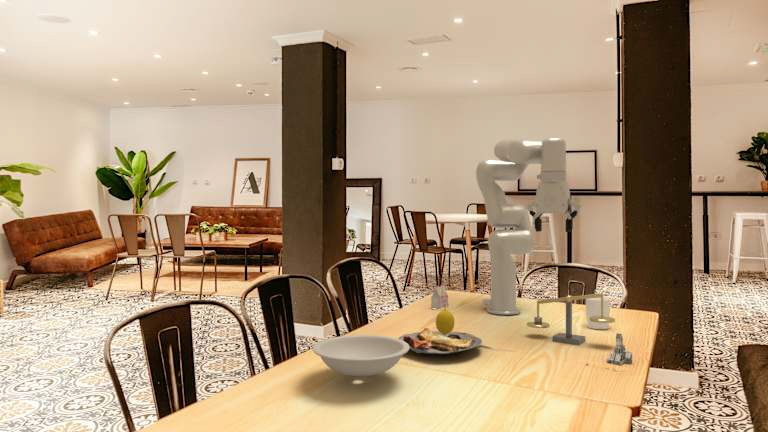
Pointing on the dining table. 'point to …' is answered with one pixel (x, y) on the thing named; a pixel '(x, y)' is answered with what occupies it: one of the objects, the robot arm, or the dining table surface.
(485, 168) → the robot arm
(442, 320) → the lemon
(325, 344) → the soup bowl
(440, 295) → the tea bag
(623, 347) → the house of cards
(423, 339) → the food plate
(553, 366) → the dining table surface
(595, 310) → the white cup
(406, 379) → the dining table surface
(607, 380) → the dining table surface
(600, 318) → the balance
